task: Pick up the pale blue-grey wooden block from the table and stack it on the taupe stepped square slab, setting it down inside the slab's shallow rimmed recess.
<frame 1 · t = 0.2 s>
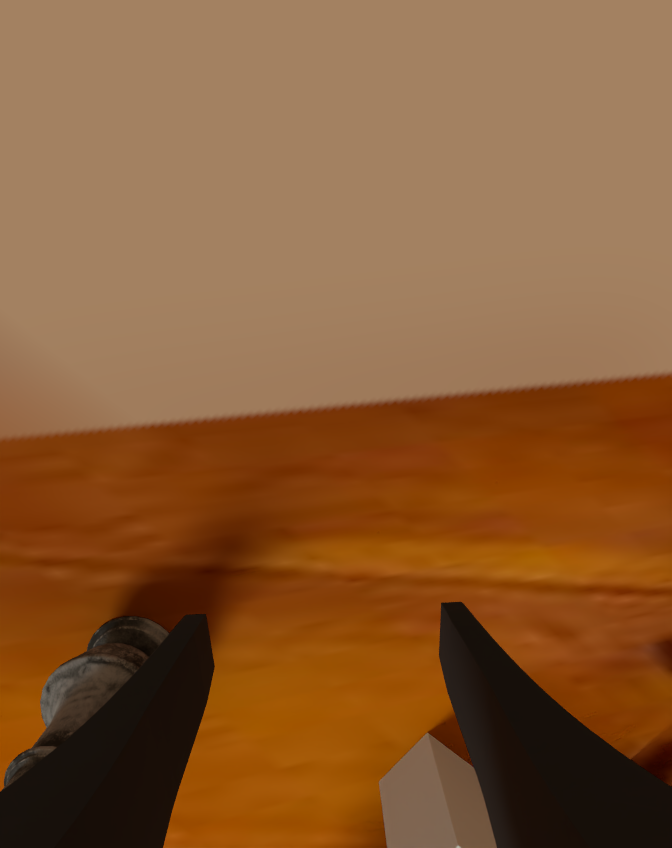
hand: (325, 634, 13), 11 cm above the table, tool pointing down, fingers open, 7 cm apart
salt shaker: (135, 655, 24), on the table
block: (429, 776, 26), on the table
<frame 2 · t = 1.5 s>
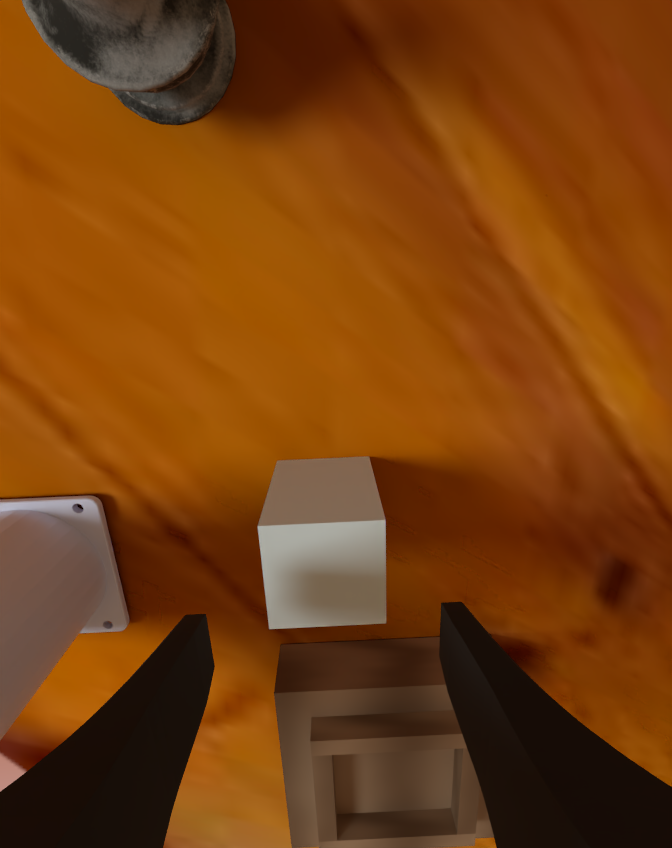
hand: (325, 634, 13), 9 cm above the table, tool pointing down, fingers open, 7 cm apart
salt shaker: (165, 43, 15), on the table
taupe stepped square slab: (386, 717, 25), on the table
block: (325, 499, 21), on the table
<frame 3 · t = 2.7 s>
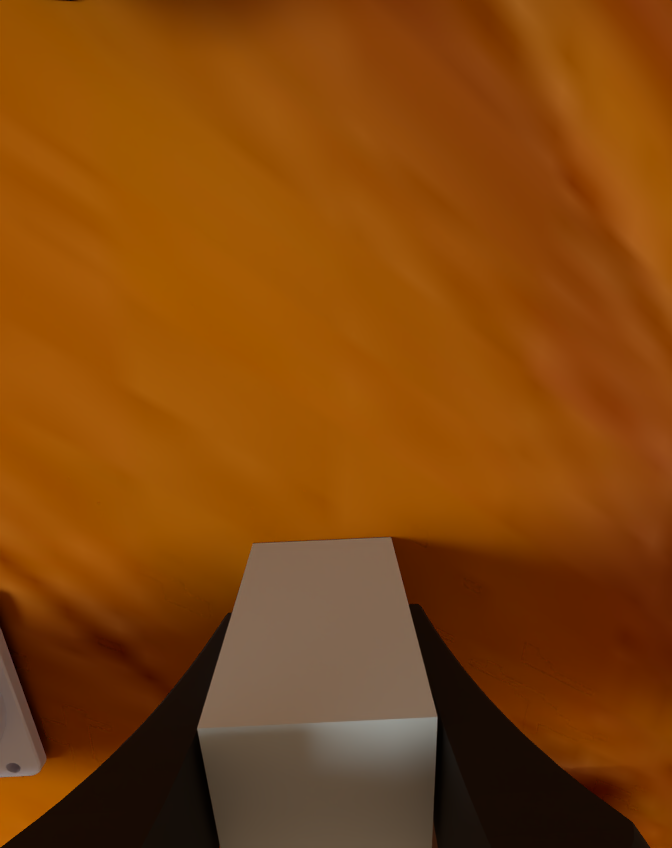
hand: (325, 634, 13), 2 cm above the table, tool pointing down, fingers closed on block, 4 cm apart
block: (325, 597, 14), on the table, touching gripper
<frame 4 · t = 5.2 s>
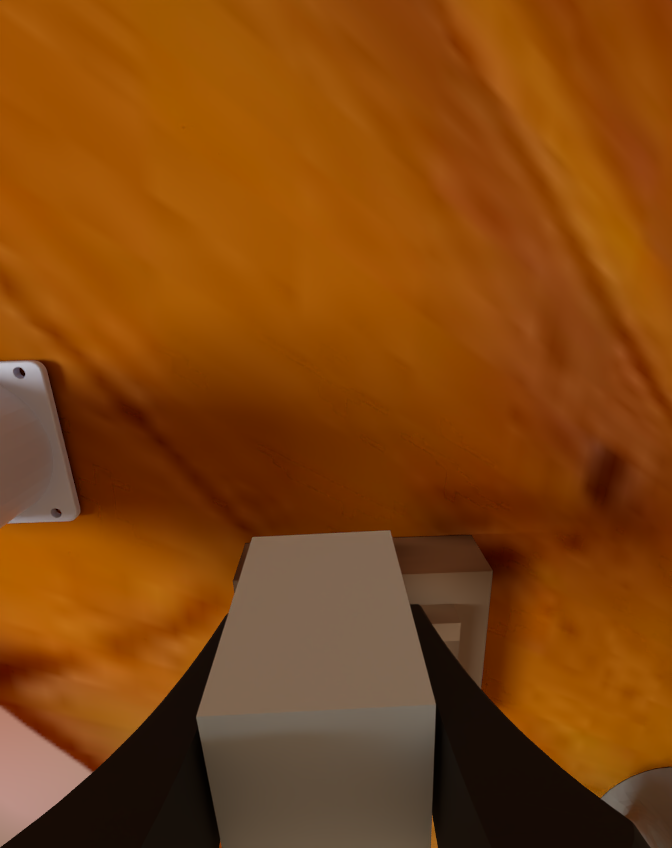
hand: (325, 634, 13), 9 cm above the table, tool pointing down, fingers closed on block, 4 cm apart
grey can: (646, 799, 29), on the table
taupe stepped square slab: (359, 629, 24), on the table
block: (324, 591, 14), point 7 cm above the table, touching gripper
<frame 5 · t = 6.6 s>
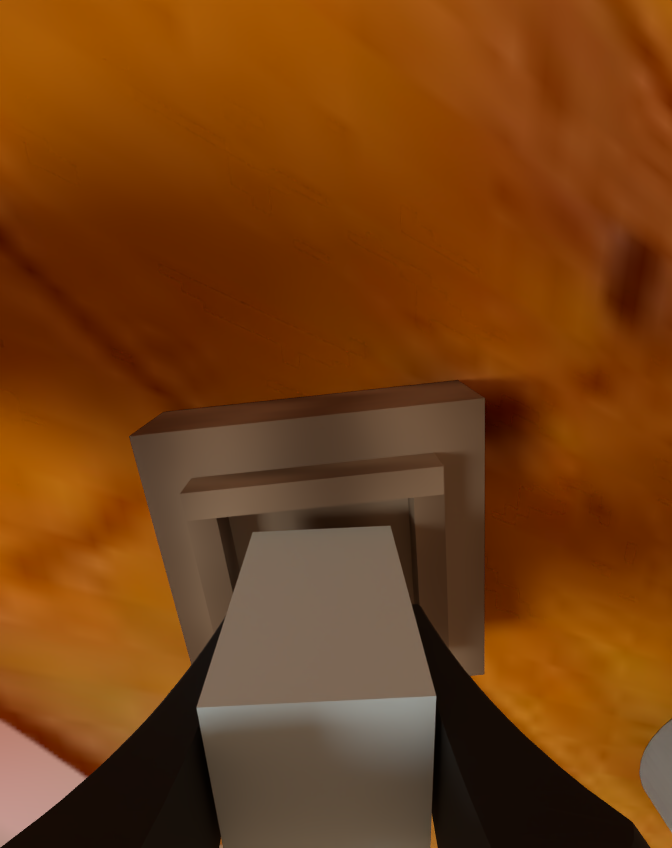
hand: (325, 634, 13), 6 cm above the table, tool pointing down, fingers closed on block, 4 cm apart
taupe stepped square slab: (326, 525, 18), on the table
block: (325, 586, 14), point 4 cm above the table, touching gripper
when the fingers open (6 cm above the table, at t = 7.7 s): block drops 1 cm, resting on taupe stepped square slab.
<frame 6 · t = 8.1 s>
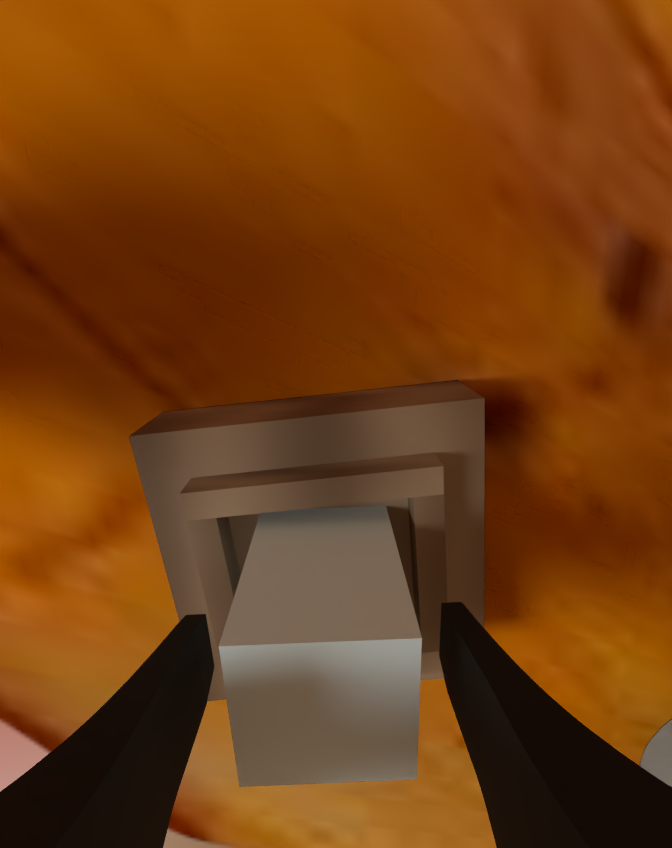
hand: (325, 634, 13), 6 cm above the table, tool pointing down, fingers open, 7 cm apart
taupe stepped square slab: (326, 525, 18), on the table
block: (326, 561, 16), point 3 cm above the table, touching taupe stepped square slab
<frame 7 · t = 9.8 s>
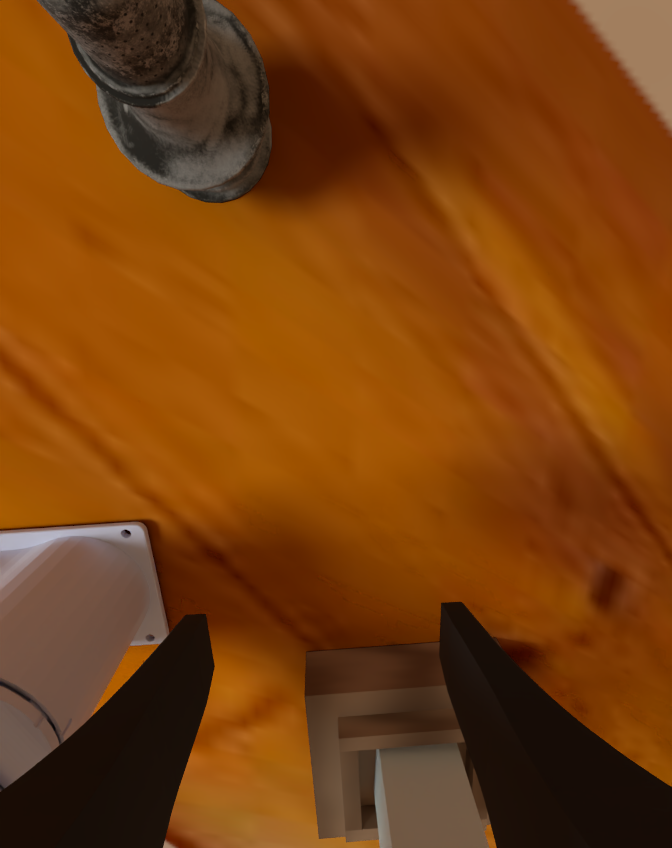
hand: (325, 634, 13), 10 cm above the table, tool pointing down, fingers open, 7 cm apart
salt shaker: (211, 135, 18), on the table
taupe stepped square slab: (402, 716, 28), on the table
block: (412, 760, 25), point 3 cm above the table, touching taupe stepped square slab
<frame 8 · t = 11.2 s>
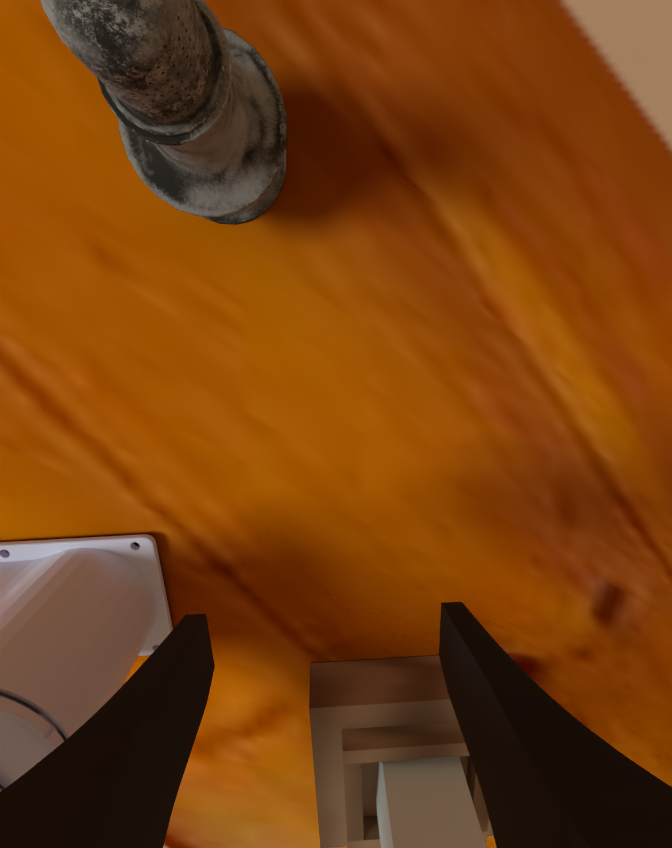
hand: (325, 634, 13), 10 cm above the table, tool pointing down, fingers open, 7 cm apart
salt shaker: (226, 159, 18), on the table
taupe stepped square slab: (404, 727, 28), on the table
block: (414, 772, 25), point 3 cm above the table, touching taupe stepped square slab
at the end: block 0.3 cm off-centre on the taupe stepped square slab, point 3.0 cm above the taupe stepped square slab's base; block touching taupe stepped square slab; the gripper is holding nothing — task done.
